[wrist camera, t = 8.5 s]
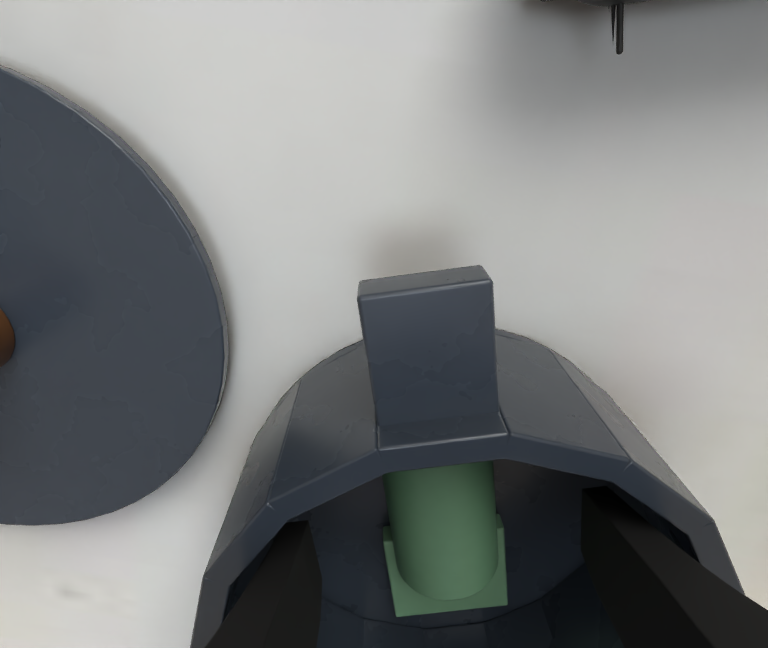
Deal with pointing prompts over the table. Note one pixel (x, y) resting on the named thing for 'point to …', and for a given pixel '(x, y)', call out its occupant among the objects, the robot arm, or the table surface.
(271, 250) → the table surface
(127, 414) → the pot lid
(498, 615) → the pot
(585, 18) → the table surface
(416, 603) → the green cylinder on base
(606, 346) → the table surface
